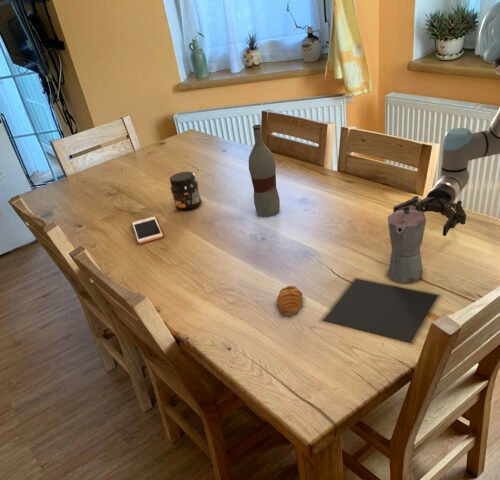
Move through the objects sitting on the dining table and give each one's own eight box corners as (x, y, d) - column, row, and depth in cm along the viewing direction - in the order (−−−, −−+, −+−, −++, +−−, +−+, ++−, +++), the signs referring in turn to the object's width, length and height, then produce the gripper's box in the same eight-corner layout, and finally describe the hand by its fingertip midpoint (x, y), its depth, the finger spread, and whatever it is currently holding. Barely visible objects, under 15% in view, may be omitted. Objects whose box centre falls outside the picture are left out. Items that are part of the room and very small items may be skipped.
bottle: (284, 213, 175) (274, 126, 157) (259, 220, 174) (246, 132, 156) (276, 204, 182) (266, 119, 164) (252, 210, 181) (239, 125, 163)
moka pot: (380, 287, 132) (381, 217, 119) (393, 257, 142) (395, 191, 130) (417, 291, 128) (422, 220, 115) (428, 260, 138) (433, 192, 126)
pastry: (303, 315, 127) (301, 303, 124) (276, 318, 128) (275, 306, 125) (302, 295, 134) (301, 283, 132) (277, 297, 135) (276, 285, 133)
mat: (437, 295, 125) (437, 295, 125) (410, 342, 113) (410, 342, 113) (356, 279, 136) (356, 278, 136) (323, 320, 124) (323, 319, 124)
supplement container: (170, 208, 194) (162, 178, 186) (191, 198, 199) (184, 168, 191) (186, 214, 187) (178, 183, 180) (207, 203, 192) (201, 173, 185)
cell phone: (155, 218, 188) (154, 216, 188) (163, 237, 174) (162, 235, 174) (132, 224, 187) (131, 222, 186) (138, 244, 173) (138, 241, 172)
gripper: (485, 212, 145) (464, 246, 132) (401, 202, 157) (375, 233, 144) (489, 187, 140) (468, 221, 127) (402, 179, 153) (375, 209, 140)
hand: (418, 227), depth 136 cm, fingers open, 13 cm apart
